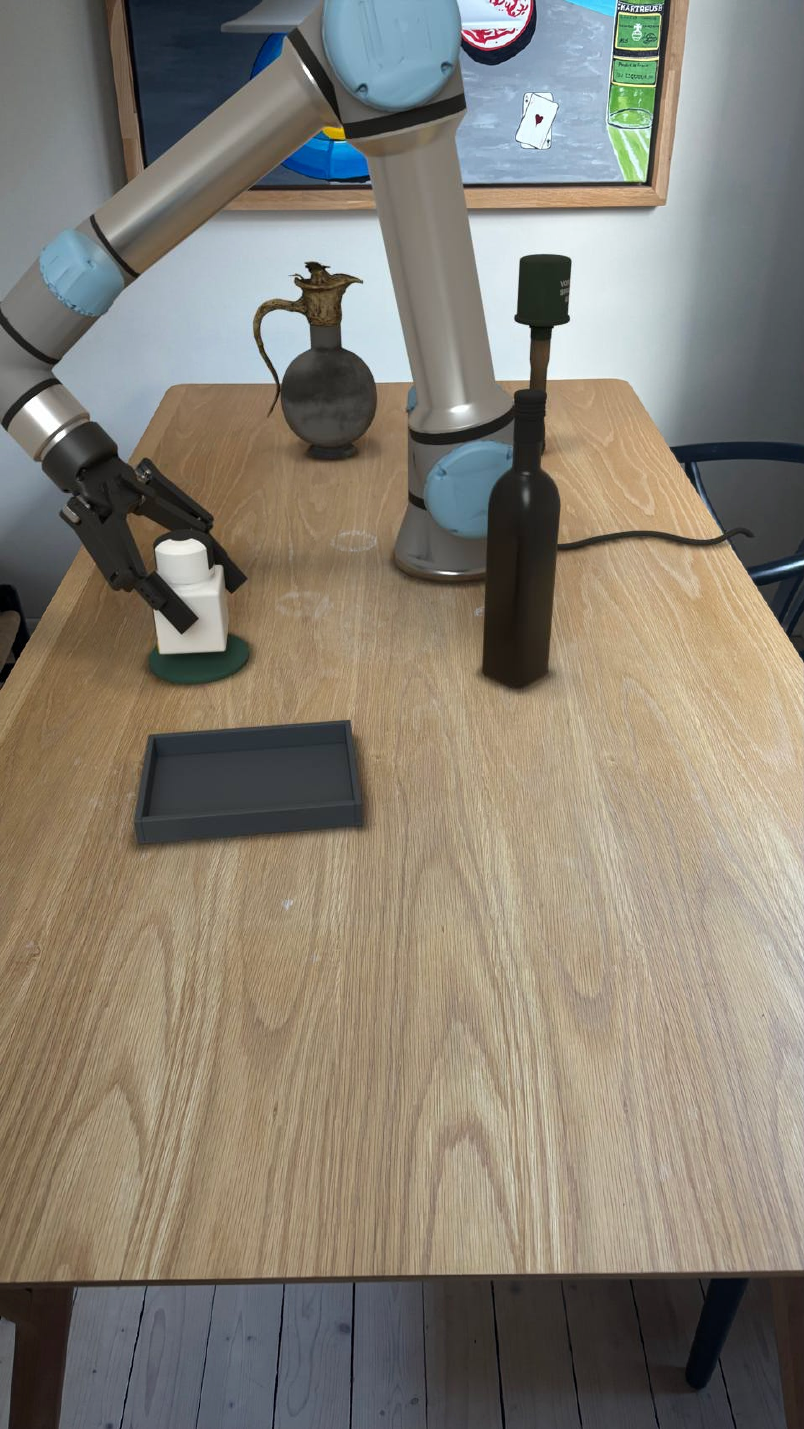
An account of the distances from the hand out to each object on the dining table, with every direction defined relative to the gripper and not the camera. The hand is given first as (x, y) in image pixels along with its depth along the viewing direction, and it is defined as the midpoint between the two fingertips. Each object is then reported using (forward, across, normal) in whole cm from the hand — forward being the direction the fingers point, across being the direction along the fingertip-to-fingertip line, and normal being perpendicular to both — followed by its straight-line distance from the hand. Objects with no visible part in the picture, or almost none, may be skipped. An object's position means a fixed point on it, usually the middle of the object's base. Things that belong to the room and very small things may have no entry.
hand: (215, 605), depth 109 cm
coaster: (+3, 0, -7) cm, 8 cm away
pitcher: (-9, -67, -20) cm, 70 cm away
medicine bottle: (+1, 0, -6) cm, 6 cm away
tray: (+15, +19, +5) cm, 25 cm away
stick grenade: (+14, -80, +4) cm, 81 cm away
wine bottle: (+27, -10, +17) cm, 33 cm away
